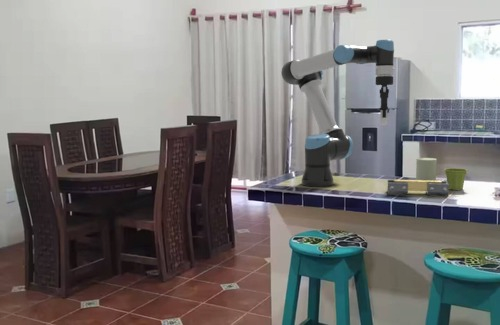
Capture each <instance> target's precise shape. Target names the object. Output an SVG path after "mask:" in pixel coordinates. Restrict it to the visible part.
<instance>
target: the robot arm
mask: <svg viewBox="0 0 500 325" xmlns="http://www.w3.org/2000/svg"><path fill="white" fill-rule="evenodd" d="M394 55H395V42H394V41H393V39H378V40H376V42H375V45H369V46H364V45H363V46H362V45H349V44H339V45H337V46H336V48H334V49H331V50H328V51H326V52H325V51H324V52H322V53H319V54H315V55H313V56H309V57H307V58H303V59H293V60H290V61H287V62H286V63H284V65H282V68H281V71H280V72H281V78H282V79H283V81H285V83H287V84H288V85H293V86H294V85H296V86H298V88H299V90H300V92H301V93H304V94H305V97H306V100H307V101H308V104H309V107H310V109H311V111H312V114H313V117H314V119H315V121H316V123H317V125H318V129H319V130H320V133H319V134H313V135H309V136H307V137H305V139H304V140H305V142H304V170H303V175H302V177H301V185H302V186H305V187H318V188H321V187H329V186H333V185H334V178H333V174H332V170H331V161H336V160H338V161H339V160H344V159H347V158H348V157H350V156H351V154H352V153H353V149H354V143H353V142H354V141H353V139H352V137H351V136H349V135H347V134H345V133H344V131H343V128H342V127H339V126H338V124H337V122H336V119H335V117H334V115H333V112H332V111H331V107H330V106H329V103H328V101H327V98H326V96H325V93H324V91H323V88H322V83H323V81H322V80H323V74H324V73H323V71H326V70H329V69H333V68H336V67H339V66H342V65H347V64H357V65H366V64H374V63H375V76H376V77H375V86H381V87H380V89H379V98H380V107H379V111H380V120H379V121H380V122H379V123H380V126H388V110H389V106H388V99H389V93H390V89H389V88H388V86H392V85H394V76H393V75H394V71H395V70H396V68H395V67H394Z"/></svg>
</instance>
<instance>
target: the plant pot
mask: <svg viewBox="0 0 500 325" xmlns="http://www.w3.org/2000/svg"><path fill="white" fill-rule="evenodd" d="M444 171H445V175H446V176H445V177H446V181H447V184H449V190H453V191H461V190H463V189H464V183H465V178H466V175H467V172H468V169H465V168H454V167H453V168H451V167H450V168H444Z"/></svg>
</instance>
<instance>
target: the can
mask: <svg viewBox="0 0 500 325" xmlns="http://www.w3.org/2000/svg"><path fill="white" fill-rule="evenodd" d="M437 160H438V159H437V158H436V157H435V158H433V157H417V158H416V161H415V162H416V164H415V165H416V167H415V168H416V171H415V172H416V173H415V180H435V181H437V163H438V162H437Z"/></svg>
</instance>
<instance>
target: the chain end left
mask: <svg viewBox="0 0 500 325" xmlns="http://www.w3.org/2000/svg"><path fill="white" fill-rule="evenodd" d="M394 180H395V179H387V195H391V196H392V195H394V196H408V194H409V191H408V183H394Z"/></svg>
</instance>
